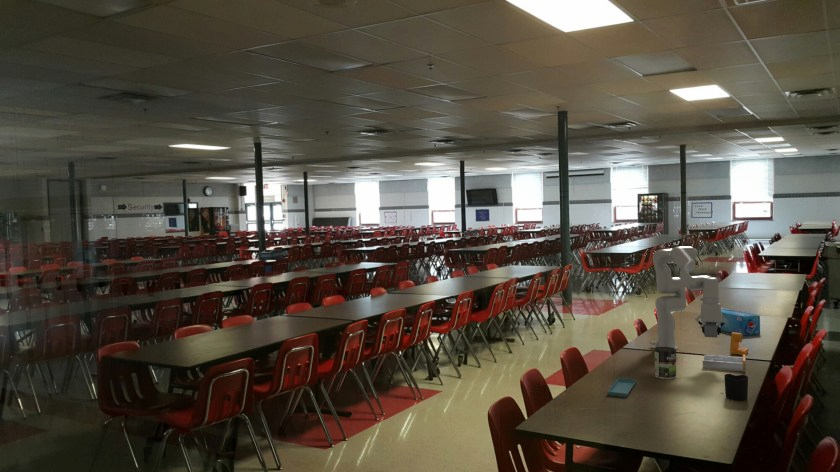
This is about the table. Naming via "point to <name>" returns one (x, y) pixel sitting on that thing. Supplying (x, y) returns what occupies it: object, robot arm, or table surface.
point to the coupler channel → (724, 363)
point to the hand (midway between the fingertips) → (711, 333)
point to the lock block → (711, 329)
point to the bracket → (737, 344)
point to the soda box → (740, 322)
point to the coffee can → (665, 362)
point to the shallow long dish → (621, 387)
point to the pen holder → (736, 387)
